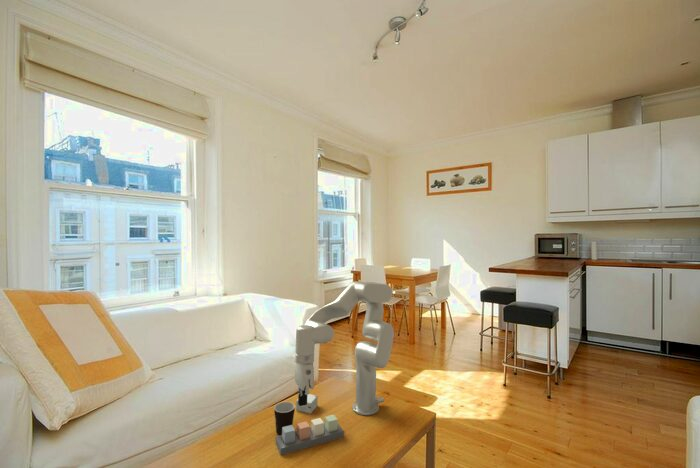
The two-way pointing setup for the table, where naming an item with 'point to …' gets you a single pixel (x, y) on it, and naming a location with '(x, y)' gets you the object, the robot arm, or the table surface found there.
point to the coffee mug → (283, 415)
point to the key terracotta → (303, 430)
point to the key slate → (288, 434)
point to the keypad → (308, 440)
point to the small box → (308, 404)
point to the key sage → (331, 423)
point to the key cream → (317, 426)
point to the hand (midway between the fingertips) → (302, 404)
